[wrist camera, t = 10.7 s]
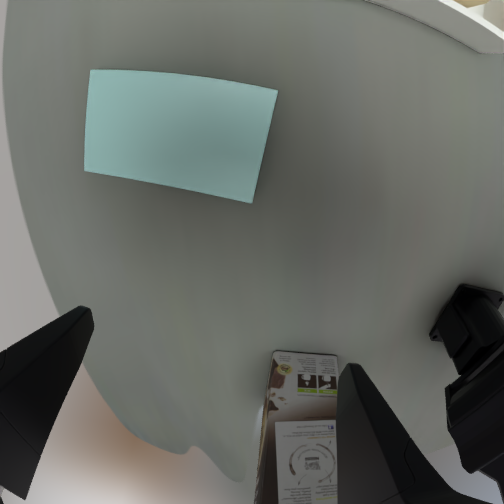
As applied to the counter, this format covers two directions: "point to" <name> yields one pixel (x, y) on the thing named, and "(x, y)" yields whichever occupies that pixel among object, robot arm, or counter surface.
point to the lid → (178, 130)
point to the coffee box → (299, 431)
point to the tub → (458, 19)
